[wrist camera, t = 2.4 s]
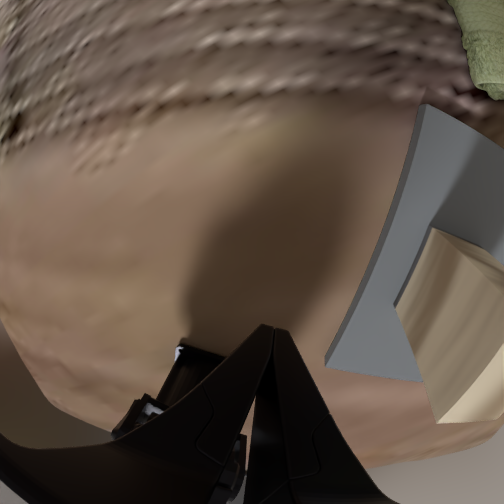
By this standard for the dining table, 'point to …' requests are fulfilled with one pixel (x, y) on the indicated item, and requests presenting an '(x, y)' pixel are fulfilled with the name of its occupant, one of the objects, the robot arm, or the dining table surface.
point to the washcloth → (483, 42)
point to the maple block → (456, 326)
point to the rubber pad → (421, 237)
